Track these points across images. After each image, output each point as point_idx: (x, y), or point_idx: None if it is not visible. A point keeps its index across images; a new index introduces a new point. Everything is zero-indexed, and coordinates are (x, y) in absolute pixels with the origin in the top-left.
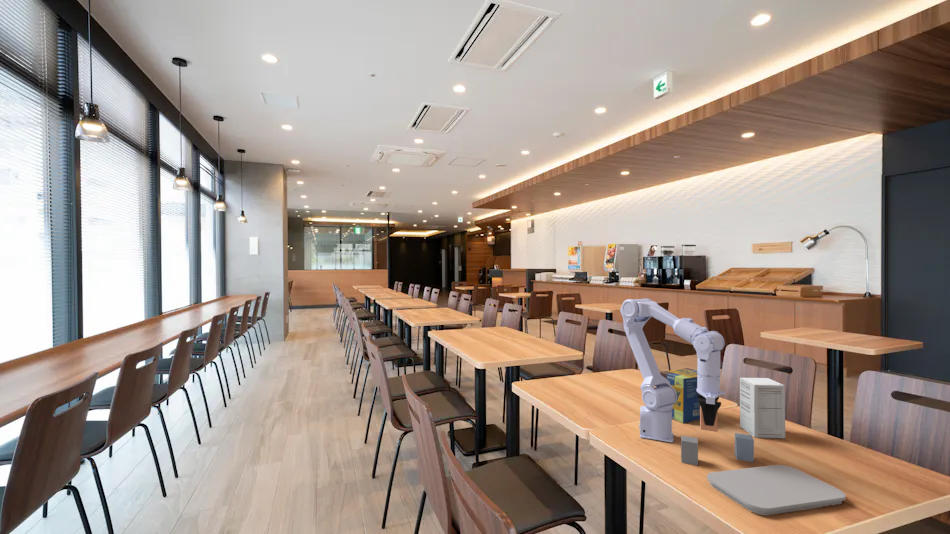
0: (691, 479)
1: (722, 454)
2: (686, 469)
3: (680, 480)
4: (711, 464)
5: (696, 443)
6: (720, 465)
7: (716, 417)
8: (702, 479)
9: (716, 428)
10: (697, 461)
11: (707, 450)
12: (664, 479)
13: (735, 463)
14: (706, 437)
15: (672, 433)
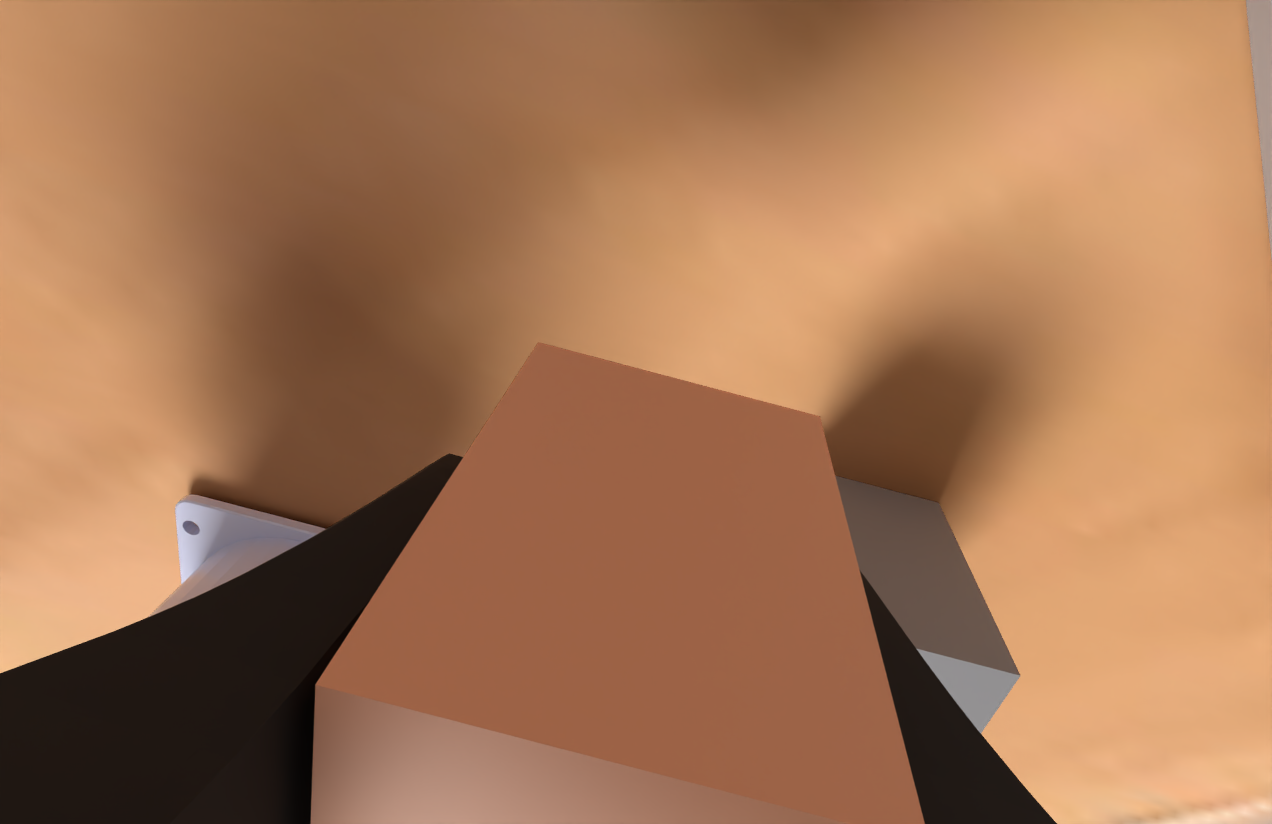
0: (1228, 640)
1: (596, 137)
2: (1025, 617)
3: (1234, 716)
4: (903, 368)
5: (1010, 685)
6: (924, 281)
7: (860, 635)
8: (1242, 560)
9: (819, 461)
10: (947, 529)
11: (520, 280)
12: (1201, 801)
13: (853, 67)
14: (93, 150)
15: (212, 513)
